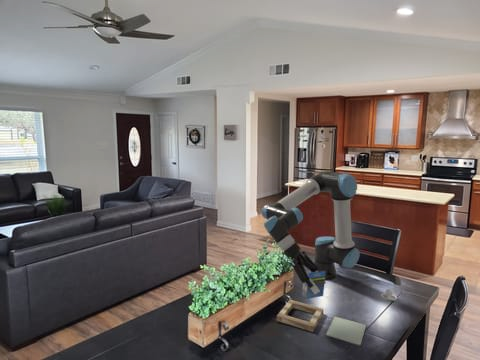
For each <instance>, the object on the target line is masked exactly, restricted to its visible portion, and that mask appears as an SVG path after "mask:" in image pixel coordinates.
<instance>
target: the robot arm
mask: <svg viewBox="0 0 480 360" xmlns="http://www.w3.org/2000/svg"><path fill="white" fill-rule="evenodd" d="M357 190H358V181H357V179H356V178H355V177H354V176H353V175H352V174H349V173H343V172H335V171H323V172H320V173H317V174H315V175H313V176H312V177H310V178H308V179H307V180H306V182H305V183H304V184H301V186H299V187H298V188H296V189H295V190H293V191H292V192H290V193H289V194H287V195H286V196H284V197H282V198H281V199H280V200H278V201H276V202H275V203H273V204H265V205H264V206H263V207H262V208H261V216H262V217H263V219H266V221H265V222H264V223H263V227H264V228H265V230H266V232H267V233H268V234H269V236H270V237H271V238H272V240H274V243H276V245H277V246H278V248H279V249H280V250H281V251H283V254H284V256H286V258H287V259H289V258H290V259H291V261H290V262H289V265H291V267H292V268H293V270H294V271H295V273H296V275H297V276H298V278H299V281H300V282H301V283H302V284H303V283H305V282H306V283H307V285H308V286H309V287H310V289H311V290H312V291H313V293H314V294H317V293H318V292H320V290H319V289H318V287H317V286H316V285H315V283H314V282H313V281H312V280H311V278H310V279H309V277H308V273H307V271H306V269H307V270H309V271H310V273H312V272H321V271H325V283H324V285H325V284H327V281H326V280H333V279H335V278H336V277H337V274H338V272H337V268H336V265H335V264H337V265H340V266H342V267H345V268H348V269H351V268H353V267H354V266H355V265H357V263H358V262H359V260H360V259H359V258H360V253H361V252H360V250H359V248H357V247H356V244H355V241H353V239H352V238H353V237H352V216H351V214H352V213H351V200H353V198H354V196H355V195H356V193H357ZM319 193H329V194H330V195H329V196H330V199H331V200H332V201H333V213H334V215H333V216H334V229H335V231H334V232H335V237H334V236H319V237H317V238H316V239H315V244H314V261H313V260H312V259H311V258H310V257H309V255H308V254H307V253H306V252H305V251H302V252H301V251H300V250H301V246H300V245H299V244H298V243H297V242H296V240H295V239H294V238H293V237H292V235H291V234H290V232H289V231H290V230H291V229H293V228H295V226H298V225H299V224H300V223H301V222H302V221H303V219H304V216H303V213H302V212H303V211H301V210H300V209H299V208H298V206H299V205H301V204H302V203H304V202H305V201H306V200H308V199H309V198H311V197H312V196H314V195H319ZM305 267H306V268H305ZM319 275H320V274H316V275H314V276H319Z"/></svg>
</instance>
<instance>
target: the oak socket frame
mask: <svg viewBox="0 0 480 360" xmlns="http://www.w3.org/2000/svg"><path fill="white" fill-rule="evenodd" d="M292 309H295V310H299V311H302V312H306V313H309V314H313V316H311V319H310V321H307V320H303V319H300V318H296V317H293V316H290V315H289V313H290V312H291V311H292ZM324 309H325V308H322V307H318V306H314V305H310V304H307V303H303V302H299V301H296V300H292V299H289V300H288V301H287V302H286V304H285V305H284V306H283V307H282V309H281V310H280V311H279V312H278V314H277V315H276V321H277V322H278V323H279V322H280V323H281V324H282V323H283V324H286V325H289V326H291V327H296V328H299V329H303V330H306V331H309V332H312V333H313V332H314V331H315V329H316V327H317V325H318V324H319V322H320V320H321V319H322V316H323V314H324Z"/></svg>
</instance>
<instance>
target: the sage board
mask: <svg viewBox="0 0 480 360" xmlns="http://www.w3.org/2000/svg"><path fill="white" fill-rule="evenodd" d="M366 329H367V325H366V324H364V323H361V322H357V321H352V320H350V319H346V318H343V317H339V316H334V317H333V319H332V321H331V324H330V326H329V328H328V330H327V332H326V333H325V336H327V337H331V338H334V339H337V340H341V341H344V342H347V343H350V344H353V345H357V346H361V344H362V341H363V337H364V334H365V331H366Z"/></svg>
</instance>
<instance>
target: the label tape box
mask: <svg viewBox="0 0 480 360" xmlns="http://www.w3.org/2000/svg"><path fill="white" fill-rule="evenodd" d="M316 274H320V275H319V276H314V275H316ZM307 275H308V277H309V279H310V278H311V280H312V281H313V282H314V283H315V285H316V286H317V287H318V289H319V290H320V292H318V293H317V294H314V293H313V291H312V290H311V289H310V287H309V286H308V285H307V283H306V282H305V283H303V282H302V294H301V295H302V296H303V297H304V299H306V300H308V299H313V298H319V297H324V294H325V293H324V290H325V284H326V283H325V281H326V279H325V271H321V272H312V273H311V272H308V273H307ZM324 283H325V284H324Z"/></svg>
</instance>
